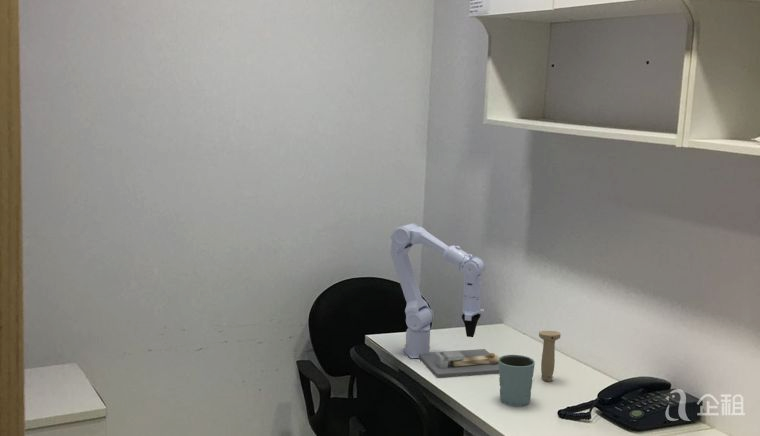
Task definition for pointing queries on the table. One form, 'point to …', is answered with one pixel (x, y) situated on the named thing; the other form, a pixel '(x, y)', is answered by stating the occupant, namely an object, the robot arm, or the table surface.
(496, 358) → the link
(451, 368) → the board
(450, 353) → the block
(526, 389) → the teal cup
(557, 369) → the table surface
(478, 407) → the table surface
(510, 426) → the table surface
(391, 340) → the table surface
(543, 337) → the handle
